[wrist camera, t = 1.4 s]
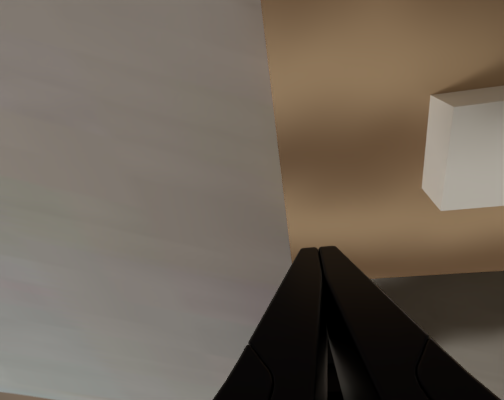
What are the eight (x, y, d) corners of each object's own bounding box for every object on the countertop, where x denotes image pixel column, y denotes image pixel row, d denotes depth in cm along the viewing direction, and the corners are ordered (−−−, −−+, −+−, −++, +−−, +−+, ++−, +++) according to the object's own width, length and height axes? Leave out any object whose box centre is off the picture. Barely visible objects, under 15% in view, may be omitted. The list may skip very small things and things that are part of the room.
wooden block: (573, 217, 19) (639, 262, 16) (292, 239, 21) (294, 283, 18) (682, -98, 13) (835, -143, 9) (263, -20, 15) (257, -32, 11)
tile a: (521, 178, 14) (556, 201, 12) (421, 188, 15) (440, 211, 13) (546, 79, 12) (590, 89, 11) (430, 95, 13) (454, 106, 11)
